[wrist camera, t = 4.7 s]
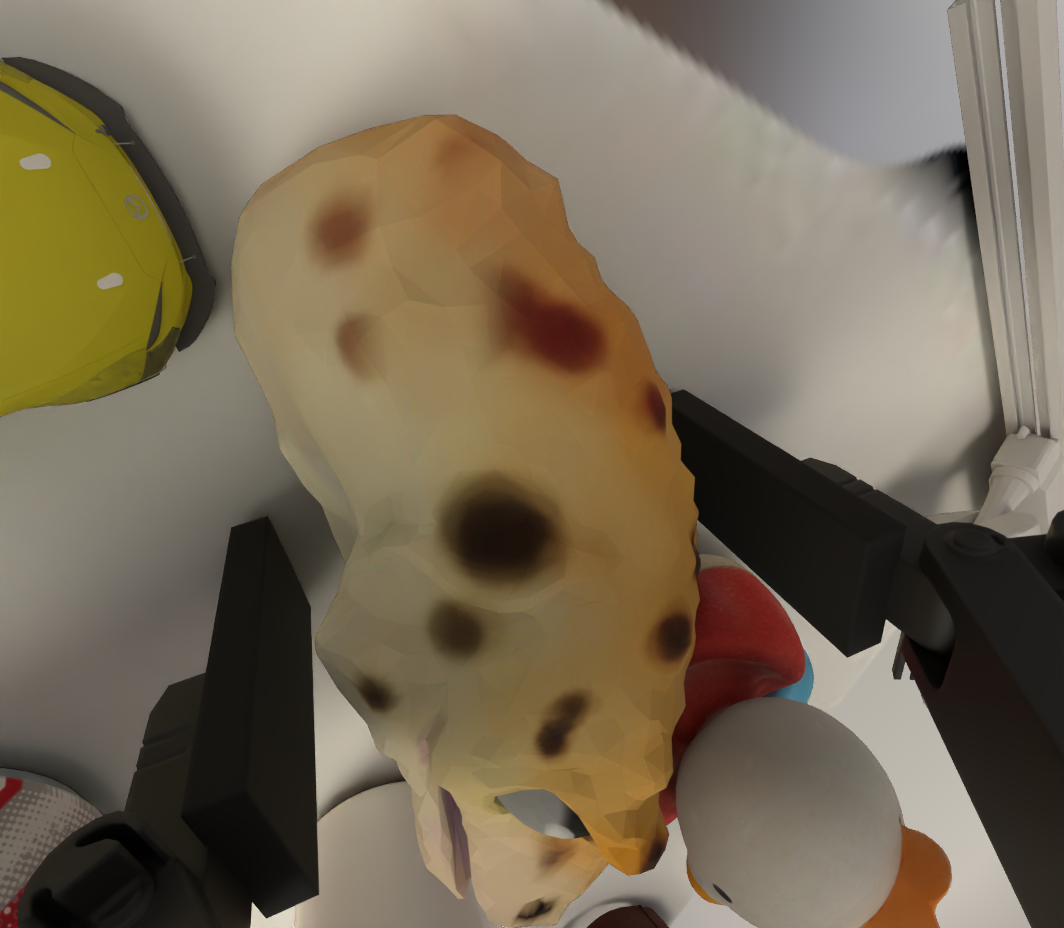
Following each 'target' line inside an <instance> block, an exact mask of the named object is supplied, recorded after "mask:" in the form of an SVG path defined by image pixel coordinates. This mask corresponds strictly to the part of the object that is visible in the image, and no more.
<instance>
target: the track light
mask: <svg viewBox="0 0 1064 928" xmlns="http://www.w3.org/2000/svg"><path fill="white" fill-rule="evenodd" d="M1000 2H1001V13H1002V23H1003V33H1004V45H1005V56H1006V65H1007V66H1006V67H1007V77H1008V88H1009V99H1010V109H1011V120H1012V131H1013V142H1014V152H1015V162H1016V174H1017V184H1018V195H1019V205H1020V217H1021V227H1022V238H1023V248H1024V260H1025V270H1026V281H1027V292H1028V302H1029V313H1030V324H1031V335H1032V345H1033V356H1034V367H1035V377H1036V388H1037V399H1038V410H1039V420H1040V431H1041V436H1039V435H1037V426H1036V416H1035V406H1034V396H1033V386H1032V375H1031V365H1030V355H1029V345H1028V335H1027V324H1026V314H1025V304H1024V294H1023V284H1022V273H1021V263H1020V255H1019V254H1020V253H1019V243H1018V233H1017V223H1016V212H1015V203H1014V192H1013V182H1012V172H1011V162H1010V151H1009V142H1008V131H1007V121H1006V110H1005V100H1004V90H1003V80H1002V71H1001V60H1000V49H999V39H998V29H997V19H996V9H995V0H955V2H954V3H953V4H952V5H951V6H950V7H949V9H948V10H947V13H948V20H949V27H950V34H951V41H952V48H953V55H954V62H955V70H956V76H957V84H958V91H959V98H960V105H961V112H962V119H963V126H964V134H965V141H966V148H967V155H968V162H969V169H970V176H971V184H972V191H973V198H974V205H975V212H976V219H977V226H978V233H979V240H980V248H981V255H982V262H983V269H984V276H985V283H986V290H987V297H988V305H989V312H990V319H991V326H992V333H993V340H994V347H995V354H996V362H997V369H998V376H999V383H1000V390H1001V397H1002V404H1003V411H1004V419H1005V426H1006V433H1007V438H1006V439H1005V441H1004V443H1003V444H1002V446H1001V447H1000V449H999V451H998V452H997V454H996V456H995V457H994V459H993V461H992V462H991V470H992V475H991V477H990V479H989V480H988V481H989V487H990V490H989V492H988V495H987V498H986V500H985V502H984V505H983V507H982V509H981V510H974V511H963V512H952V513H942V514H936V515H931V516H926V518H927V519H929V520H931V521H932V522H934V523H936V524H942V523H949V522H963V523H972V524H976V525H980V526H984V527H987V528H990V529H992V530H994V531H996V532H999V533H1001V534H1003V535H1005V536H1006V537H1007V538H1014V537H1023V536H1032V535H1041V534H1047V532H1048V530H1049V527H1050V525H1051V522H1052V519H1053V518H1054V517H1055V515H1056V514H1057V513H1058V512H1060V511H1062V510H1064V160H1063V138H1062V115H1061V93H1060V70H1059V49H1058V27H1057V5H1056V0H1000ZM921 696H922V695H921ZM922 700H923V703H924V704H925V705H926V703H925V701H924V699H923V697H922ZM926 707H927V705H926Z"/></svg>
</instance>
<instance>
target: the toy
mask: <svg viewBox="0 0 1064 928" xmlns="http://www.w3.org/2000/svg"><path fill="white" fill-rule="evenodd" d="M231 281H232V302H233V322H234V335H235V337H236V339H237V341H238V343H239V345H240V346H241V348H242V350H243V352H244V354H245V356H246V358H247V360H248V362H249V364H250V366H251V368H252V370H253V372H254V374H255V376H256V378H257V380H258V382H259V384H260V386H261V388H262V390H263V392H264V394H265V396H266V399H267V401H268V403H269V405H270V407H271V409H272V411H273V414H274V419H275V425H276V430H277V435H278V440H279V445H280V450H281V452H282V454H283V455H284V456H285V458H286V459H287V461H288V462H289V464H290V465H291V467H292V468H293V470H294V471H295V473H296V475H297V476H298V478H299V479H300V481H301V482H302V484H303V486H304V487H305V488H306V489H307V490H308V491H309V492H310V493H311V494H312V495H313V497H314V498H315V499H316V500H317V501H318V502H319V503H320V504H321V505H322V507H323V510H324V512H325V515H326V518H327V520H328V523H329V525H330V528H331V531H332V533H333V536H334V538H335V541H336V543H337V545H338V548H339V550H340V552H341V554H342V557H343V559H344V561H345V564H346V565H345V567H344V569H343V572H342V575H341V581H340V586H339V591H338V593H337V595H336V597H335V599H334V601H333V603H332V605H331V607H330V608H329V610H328V612H327V614H326V616H325V619H324V621H323V622H322V624H321V626H320V628H319V630H318V632H317V634H316V636H315V649H316V653H317V655H318V657H319V659H320V660H321V662H322V664H323V665H324V667H325V669H326V670H327V672H328V673H329V675H330V677H331V678H332V680H333V682H334V683H335V685H336V687H337V688H338V689H339V691H340V692H341V693H342V694H343V695H344V697H345V698H346V699H347V700H348V702H349V703H350V704H351V705H352V706H353V708H354V709H355V710H356V711H357V712H358V714H359V715H360V716H361V717H362V718H363V720H364V721H365V722H366V723H367V725H368V727H369V730H370V732H371V735H372V737H373V740H374V743H375V745H376V748H377V749H378V750H379V751H380V753H381V754H382V755H384V756H386V757H389V758H391V759H393V760H396V762H397V765H398V768H399V771H400V773H401V775H402V776H403V777H404V779H405V780H406V781H407V783H408V784H409V785H410V787H411V798H412V807H413V809H414V816H415V830H416V835H417V840H418V845H419V848H420V851H421V854H422V857H423V860H424V863H425V866H426V868H427V869H428V870H429V871H430V872H431V873H433V874H434V875H435V876H436V877H437V878H438V879H439V880H440V881H441V882H442V883H443V884H444V885H446V886H447V887H448V888H449V889H450V891H451V892H452V893H453V894H454V895H455V896H456V898H457V899H465V891H466V888H467V886H468V884H469V881H470V879H471V877H472V884H473V888H474V891H475V895H476V899H477V901H478V903H479V904H480V906H481V907H482V908H483V910H484V911H485V913H486V916H487V920H488V921H489V922H492V923H495V924H498V925H501V926H504V927H507V928H515V927H523V926H532V925H537V926H550V925H554V924H557V922H558V921H559V919H560V918H561V916H562V914H563V913H564V911H565V910H566V908H567V907H568V905H569V904H570V903H571V902H572V901H574V900H575V899H576V898H578V897H579V896H581V894H582V893H583V892H584V891H585V890H586V889H587V888H588V887H589V886H590V885H591V883H592V882H593V881H594V880H595V879H596V878H597V877H598V876H599V875H600V873H601V872H602V871H603V870H604V869H605V867H606V866H607V864H608V863H609V864H611V865H612V866H614V867H615V868H617V869H618V870H620V871H622V872H623V873H625V874H626V875H628V876H629V875H637V874H641V873H644V872H646V871H649V870H651V869H654V868H655V866H656V864H657V863H658V861H659V859H660V857H661V856H662V854H663V852H664V851H665V848H666V845H667V841H668V837H669V832H668V829H667V827H666V824H665V821H664V818H663V815H662V812H661V810H660V807H659V803H658V802H659V791H661V790H663V789H665V788H666V787H667V785H668V782H669V780H670V778H671V776H672V773H673V756H672V739H671V738H672V734H673V731H674V728H675V725H676V724H677V722H678V720H679V718H680V716H681V714H682V713H683V711H684V709H685V706H686V704H685V691H684V680H685V673H686V670H687V667H688V665H689V663H690V660H691V658H692V655H693V651H694V646H695V639H696V634H695V618H696V610H697V607H698V604H699V601H700V597H699V591H698V585H697V577H698V574H699V570H700V567H701V559H700V556H699V554H698V551H697V547H698V533H697V529H696V525H697V519H698V514H699V511H698V509H697V507H696V505H695V503H694V501H693V499H694V483H695V477H694V476H693V475H692V473H691V472H690V471H689V470H688V469H687V467H686V466H685V465H684V464H683V463H682V461H681V442H680V440H679V438H678V436H677V434H676V432H675V429H674V427H673V425H672V397H671V393H670V389H669V388H668V387H667V385H666V384H665V383H664V381H663V380H662V379H661V377H660V376H659V375H658V373H657V372H656V370H655V367H654V364H653V361H652V358H651V355H650V352H649V349H648V347H647V344H646V342H645V339H644V336H643V334H642V331H641V328H640V326H639V323H638V320H637V318H636V317H635V315H634V314H633V313H632V311H631V310H630V308H629V307H628V306H627V305H626V304H625V303H624V302H623V301H622V300H620V299H619V298H618V297H617V296H616V295H615V294H614V293H613V292H612V291H610V290H609V289H608V287H607V286H606V284H605V283H604V282H603V280H602V279H601V277H600V273H599V270H598V267H597V263H596V260H595V258H594V257H593V256H592V255H591V254H590V253H589V252H588V251H587V250H586V249H584V248H583V247H582V246H581V245H580V244H579V243H578V242H577V240H576V239H575V237H574V235H573V234H572V232H571V230H570V229H569V227H568V222H567V218H566V213H565V209H564V204H563V200H562V195H561V190H560V186H559V181H558V179H557V178H555V177H553V176H552V175H550V174H548V173H547V172H545V171H543V170H542V169H540V168H538V167H537V166H535V165H533V164H532V163H530V162H528V161H527V160H526V159H525V158H524V157H522V156H521V155H520V154H519V153H518V152H517V151H516V150H515V149H514V148H513V147H511V146H510V145H509V144H508V143H507V142H506V141H505V140H503V139H502V138H500V137H499V136H498V135H496V134H494V133H492V132H490V131H488V130H486V129H484V128H482V127H480V126H478V125H476V124H473V123H471V122H469V121H467V120H465V119H463V118H461V117H459V116H457V115H424V116H420V117H416V118H412V119H408V120H403V121H399V122H395V123H391V124H387V125H383V126H378V127H374V128H370V129H367V130H364V131H362V132H359V133H356V134H353V135H350V136H348V137H345V138H342V139H339V140H337V141H334V142H331V143H328V144H325V145H323V146H320V147H318V148H316V149H315V150H313V151H312V152H310V153H308V154H307V155H305V156H304V157H302V158H301V159H299V160H298V161H296V162H295V163H293V164H292V165H290V166H289V167H287V168H286V169H284V170H283V171H281V172H280V173H278V174H277V175H275V176H274V177H272V178H270V179H269V180H267V181H266V182H264V183H263V184H262V185H261V186H260V187H259V188H258V190H257V191H256V192H255V194H254V195H253V196H252V198H251V199H250V200H249V201H248V203H247V205H246V206H245V208H244V210H243V212H242V214H241V216H240V217H239V222H238V228H237V233H236V239H235V244H234V250H233V255H232V260H231Z"/></svg>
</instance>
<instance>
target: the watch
mask: <svg viewBox="0 0 1064 928" xmlns="http://www.w3.org/2000/svg"><path fill="white" fill-rule="evenodd" d="M587 928H669V927H668V926H667V925H666V923H665V922H664V921H663V920H662V919H661V917H660V916H659V915H658V914H657V913H656V912H655V911H654V910H653V909H651V908H648V907H643V906H642V905H638V906H629V907H622V908H618V909H615V910H611V911H609V912H607V913H605V914H603V915H602V916H600V917H599V918H597V919H596V920H595V921H593V922H592V923H591V924H590V925H589V926H588V927H587Z"/></svg>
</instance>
